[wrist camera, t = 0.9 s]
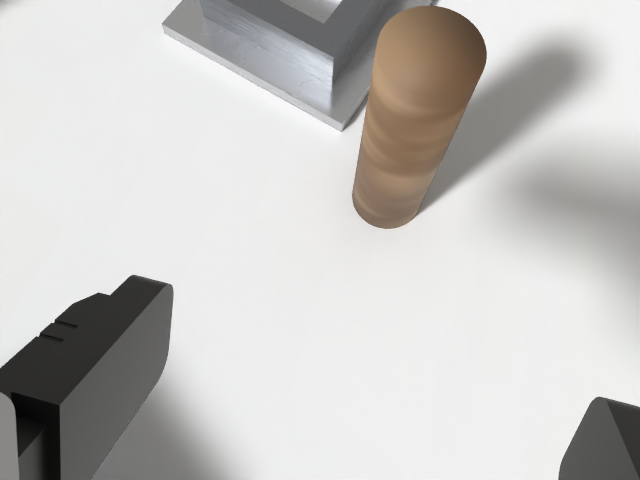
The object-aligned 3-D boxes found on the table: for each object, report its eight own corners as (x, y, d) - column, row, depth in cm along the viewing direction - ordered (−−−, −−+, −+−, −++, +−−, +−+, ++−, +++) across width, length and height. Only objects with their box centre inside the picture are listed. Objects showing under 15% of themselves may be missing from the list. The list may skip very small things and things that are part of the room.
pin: (339, 206, 30) (356, 64, 19) (374, 154, 31) (410, -11, 20) (399, 241, 29) (454, 116, 18) (433, 186, 30) (505, 36, 19)
